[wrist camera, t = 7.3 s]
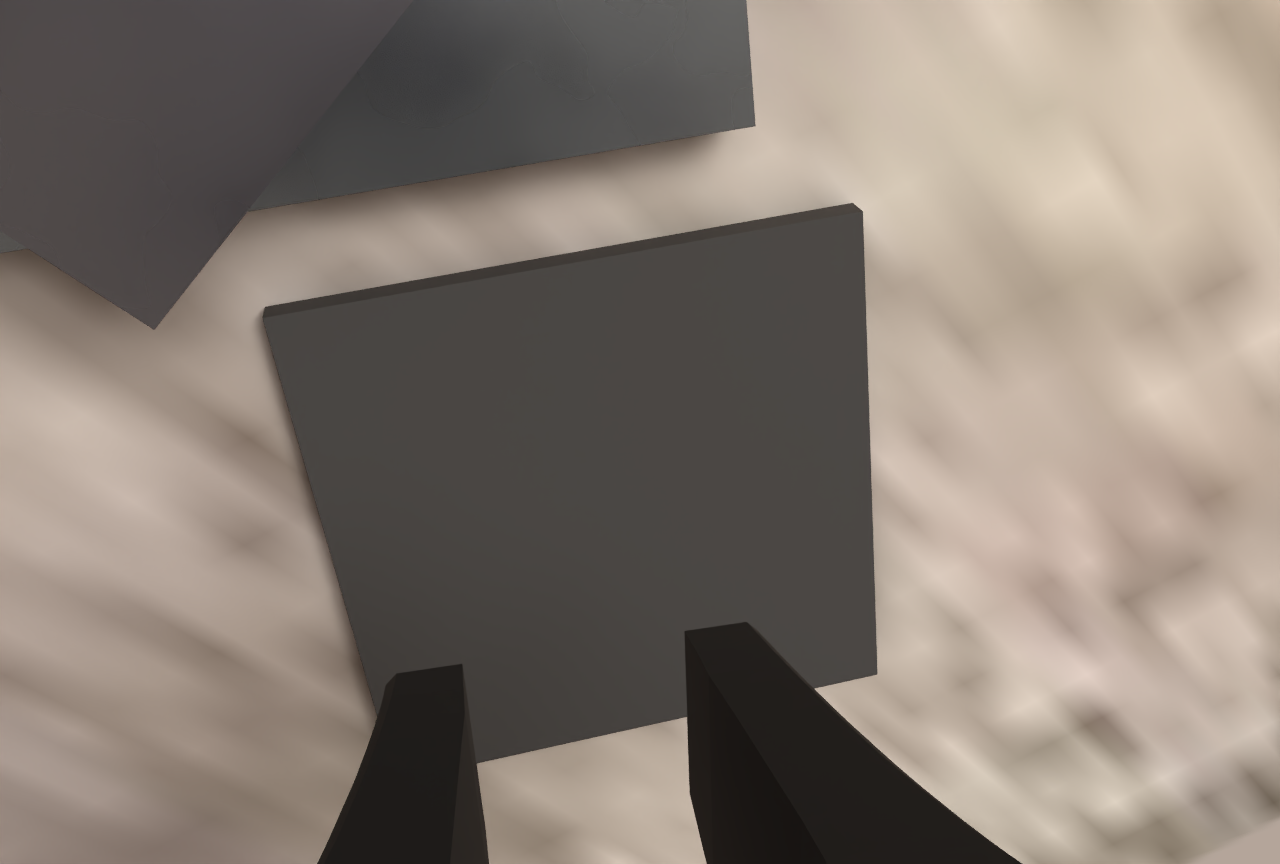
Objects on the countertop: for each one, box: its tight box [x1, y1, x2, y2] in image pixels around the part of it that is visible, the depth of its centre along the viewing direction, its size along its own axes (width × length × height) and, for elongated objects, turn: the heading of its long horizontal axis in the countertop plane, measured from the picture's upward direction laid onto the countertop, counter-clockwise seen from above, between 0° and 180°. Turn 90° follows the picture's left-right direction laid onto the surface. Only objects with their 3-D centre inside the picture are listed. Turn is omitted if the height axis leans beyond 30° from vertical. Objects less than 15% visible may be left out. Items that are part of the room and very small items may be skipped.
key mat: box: [263, 203, 877, 763], centre depth 22 cm, size 10×10×1 cm
